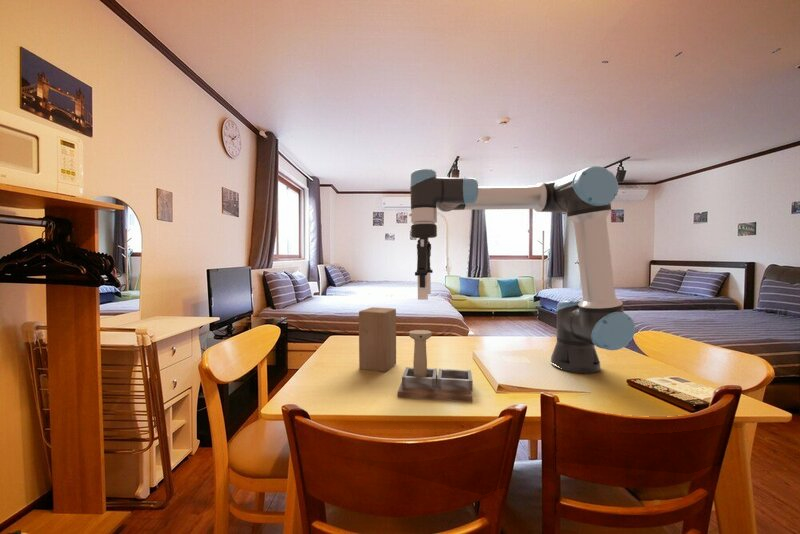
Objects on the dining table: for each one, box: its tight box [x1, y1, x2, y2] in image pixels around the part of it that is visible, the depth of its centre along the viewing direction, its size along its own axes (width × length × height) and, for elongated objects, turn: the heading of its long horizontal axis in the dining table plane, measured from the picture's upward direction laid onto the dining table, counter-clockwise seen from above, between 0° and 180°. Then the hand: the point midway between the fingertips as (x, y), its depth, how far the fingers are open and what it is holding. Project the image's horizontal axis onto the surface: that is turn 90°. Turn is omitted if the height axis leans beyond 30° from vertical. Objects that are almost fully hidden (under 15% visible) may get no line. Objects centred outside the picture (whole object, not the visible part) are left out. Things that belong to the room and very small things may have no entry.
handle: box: [408, 329, 432, 377], centre depth 95 cm, size 5×6×15 cm
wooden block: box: [358, 307, 397, 373], centre depth 115 cm, size 10×10×20 cm
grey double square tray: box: [397, 366, 474, 403], centre depth 95 cm, size 20×14×4 cm
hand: (424, 296), depth 96 cm, fingers open, 13 cm apart
